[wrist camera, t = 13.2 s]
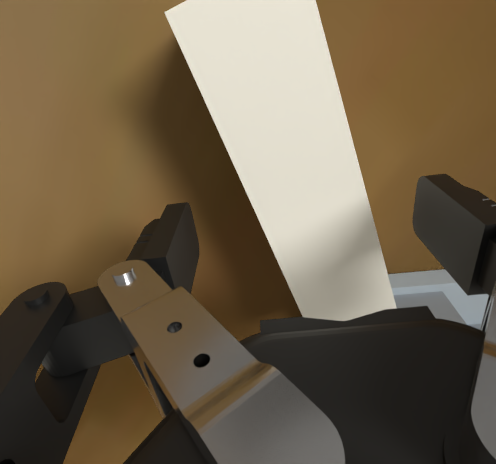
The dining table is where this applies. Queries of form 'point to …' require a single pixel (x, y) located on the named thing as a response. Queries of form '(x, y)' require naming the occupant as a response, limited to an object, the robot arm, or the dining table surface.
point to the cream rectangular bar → (289, 146)
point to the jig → (438, 296)
